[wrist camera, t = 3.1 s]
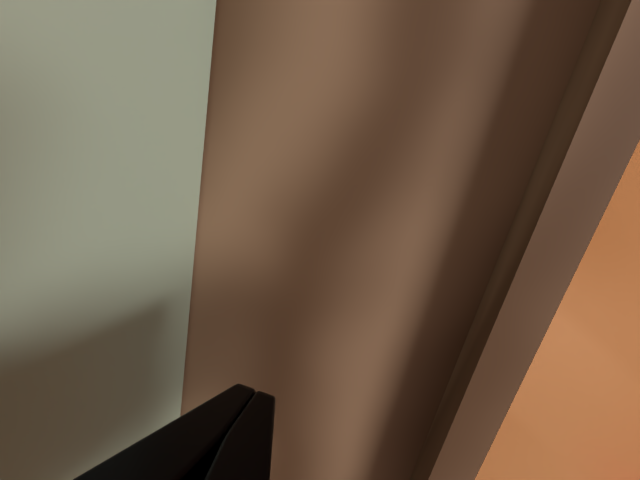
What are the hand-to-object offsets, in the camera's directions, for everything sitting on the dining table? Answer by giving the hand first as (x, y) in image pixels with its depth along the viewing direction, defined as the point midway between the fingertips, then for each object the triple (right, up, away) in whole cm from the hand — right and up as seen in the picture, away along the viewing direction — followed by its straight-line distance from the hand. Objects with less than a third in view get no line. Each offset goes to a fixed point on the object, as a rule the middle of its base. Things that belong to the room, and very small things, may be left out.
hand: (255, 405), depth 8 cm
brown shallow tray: (+2, +2, +6) cm, 7 cm away
